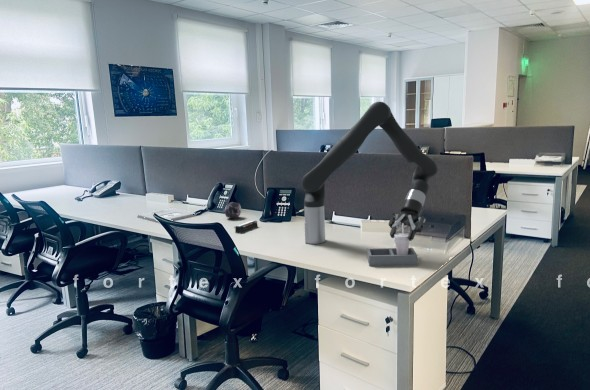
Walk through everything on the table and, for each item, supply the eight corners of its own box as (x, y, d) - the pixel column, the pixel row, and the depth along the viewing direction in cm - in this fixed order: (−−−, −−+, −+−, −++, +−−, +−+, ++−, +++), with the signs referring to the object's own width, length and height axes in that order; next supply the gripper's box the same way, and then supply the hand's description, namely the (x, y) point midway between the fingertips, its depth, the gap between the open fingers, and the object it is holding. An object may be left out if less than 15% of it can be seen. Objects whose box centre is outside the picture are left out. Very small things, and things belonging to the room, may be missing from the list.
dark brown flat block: (224, 234, 222) (224, 226, 221) (254, 223, 243) (254, 216, 242) (246, 237, 214) (245, 229, 213) (275, 225, 235) (274, 218, 234)
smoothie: (413, 257, 167) (413, 223, 165) (405, 261, 163) (405, 226, 160) (398, 254, 172) (398, 221, 169) (390, 258, 167) (390, 224, 165)
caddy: (369, 266, 164) (369, 256, 163) (367, 258, 173) (367, 248, 172) (417, 265, 162) (417, 255, 161) (412, 257, 171) (412, 247, 171)
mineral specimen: (235, 220, 248) (234, 204, 246) (221, 219, 253) (220, 203, 252) (245, 217, 256) (244, 201, 255) (231, 215, 262) (230, 200, 260)
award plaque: (171, 210, 288) (171, 207, 287) (196, 216, 267) (196, 212, 267) (137, 218, 270) (137, 214, 270) (161, 224, 250) (160, 220, 249)
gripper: (394, 196, 173) (380, 230, 166) (428, 199, 164) (415, 236, 157) (400, 206, 178) (387, 240, 171) (433, 210, 169) (421, 246, 162)
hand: (400, 238), depth 164 cm, fingers open, 7 cm apart
